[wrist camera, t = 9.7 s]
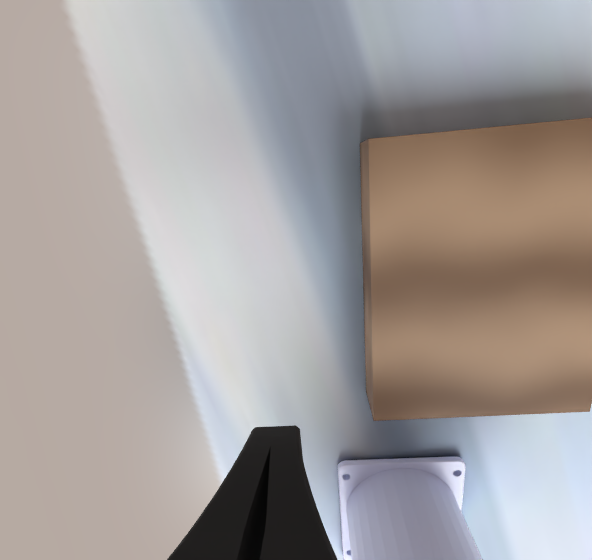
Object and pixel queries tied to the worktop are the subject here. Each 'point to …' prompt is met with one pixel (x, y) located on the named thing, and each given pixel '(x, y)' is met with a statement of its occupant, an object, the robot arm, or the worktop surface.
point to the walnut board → (478, 271)
